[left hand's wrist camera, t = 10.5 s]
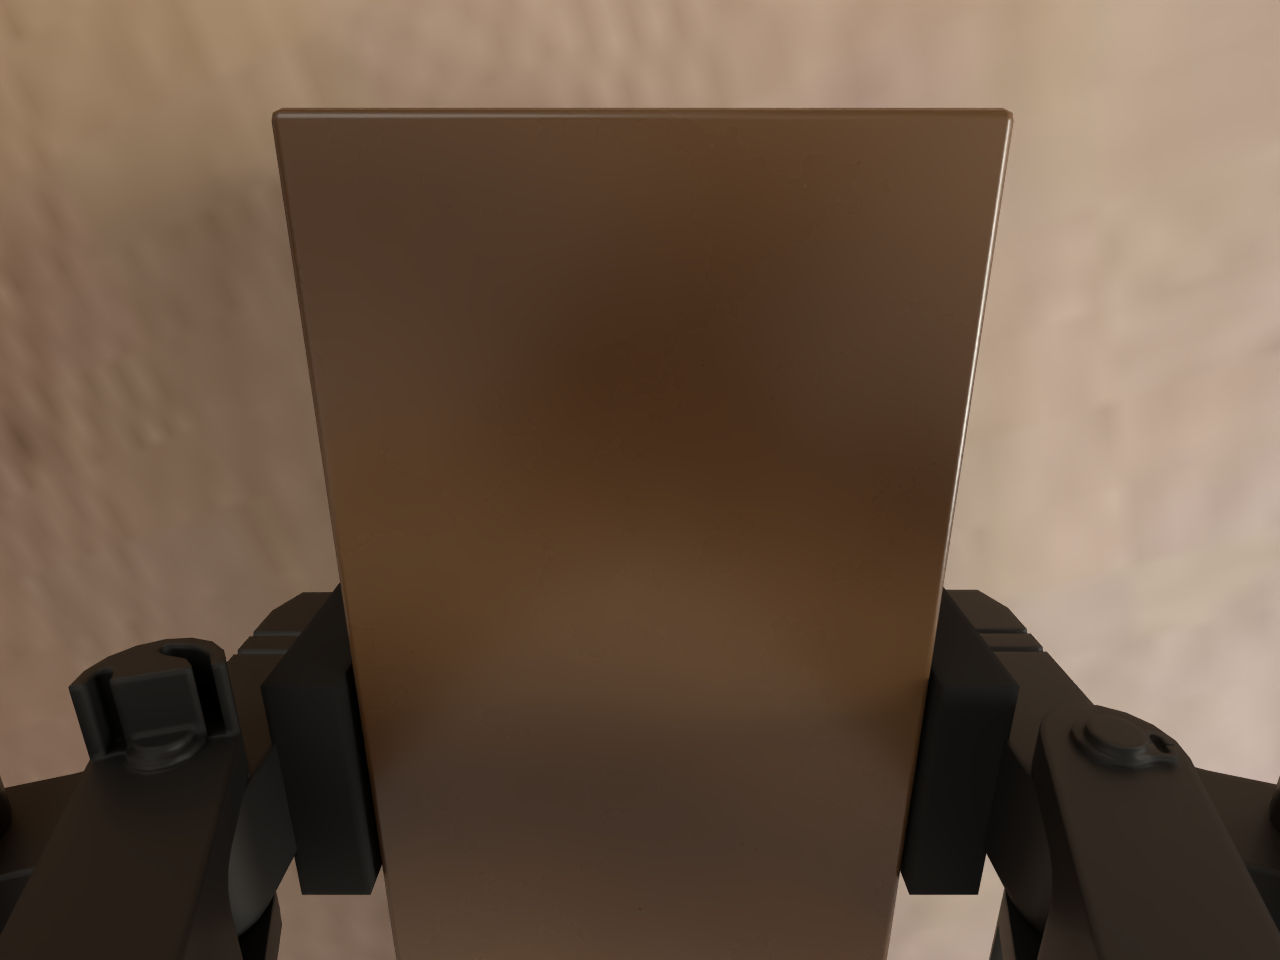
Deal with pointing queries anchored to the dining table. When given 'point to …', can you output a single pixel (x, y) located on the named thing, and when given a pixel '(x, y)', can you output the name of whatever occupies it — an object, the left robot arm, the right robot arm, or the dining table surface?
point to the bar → (642, 504)
